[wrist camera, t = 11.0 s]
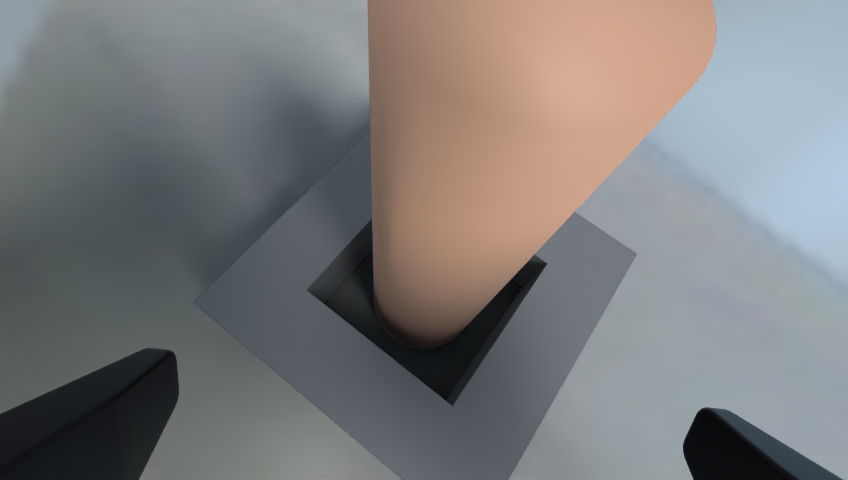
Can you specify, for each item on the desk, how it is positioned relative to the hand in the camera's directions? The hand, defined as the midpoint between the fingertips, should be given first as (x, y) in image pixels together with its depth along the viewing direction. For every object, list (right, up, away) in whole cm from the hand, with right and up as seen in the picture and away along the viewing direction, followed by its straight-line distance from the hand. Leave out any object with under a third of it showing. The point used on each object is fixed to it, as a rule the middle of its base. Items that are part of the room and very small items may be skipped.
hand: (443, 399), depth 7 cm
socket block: (0, 0, +10) cm, 10 cm away
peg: (0, 0, +10) cm, 10 cm away
